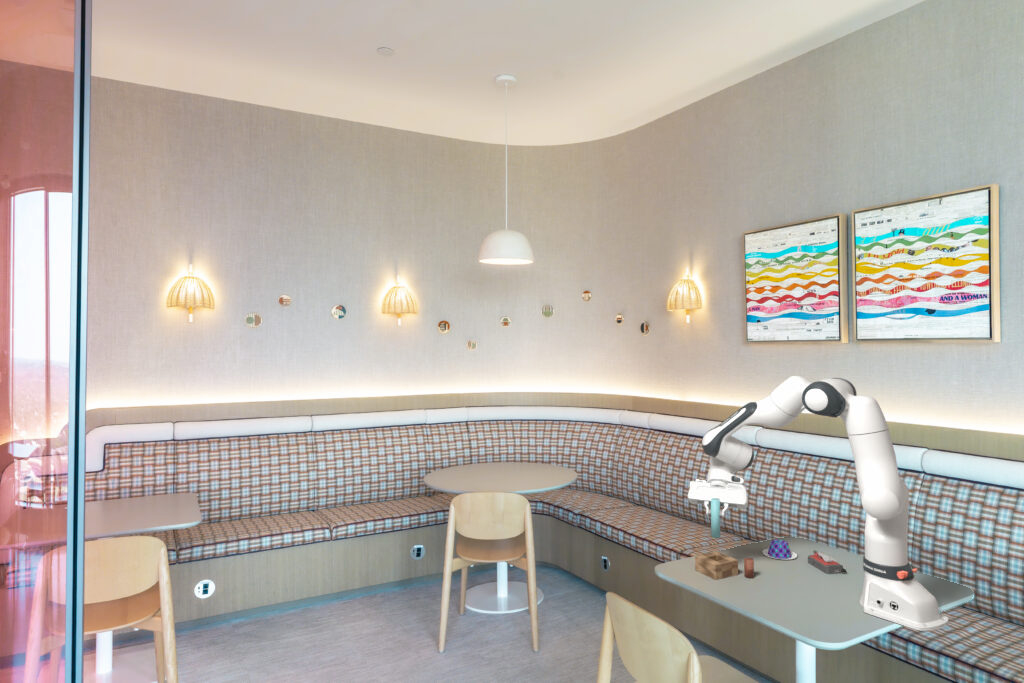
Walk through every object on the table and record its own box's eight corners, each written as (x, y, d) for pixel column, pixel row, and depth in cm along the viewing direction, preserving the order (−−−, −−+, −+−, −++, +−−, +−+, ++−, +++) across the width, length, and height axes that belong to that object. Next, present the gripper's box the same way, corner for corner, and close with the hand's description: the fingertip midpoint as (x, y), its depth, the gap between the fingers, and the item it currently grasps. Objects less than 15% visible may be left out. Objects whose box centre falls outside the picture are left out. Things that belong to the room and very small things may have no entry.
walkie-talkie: (852, 575, 209) (816, 554, 229) (852, 562, 209) (816, 542, 229) (828, 576, 208) (794, 556, 228) (828, 563, 208) (794, 544, 228)
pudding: (790, 564, 220) (790, 549, 220) (757, 556, 228) (756, 542, 228) (802, 555, 229) (801, 541, 229) (769, 547, 237) (769, 534, 237)
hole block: (738, 574, 210) (737, 560, 210) (715, 580, 206) (715, 565, 206) (716, 565, 219) (716, 551, 219) (695, 570, 215) (695, 555, 215)
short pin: (755, 577, 208) (755, 559, 208) (749, 579, 206) (749, 561, 206) (748, 574, 210) (748, 557, 210) (742, 575, 209) (742, 558, 209)
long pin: (722, 537, 212) (721, 499, 212) (715, 538, 211) (715, 501, 210) (715, 534, 215) (715, 497, 214) (709, 536, 213) (708, 499, 213)
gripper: (689, 473, 223) (683, 507, 215) (748, 479, 214) (744, 514, 205) (691, 483, 227) (686, 516, 219) (750, 489, 218) (746, 524, 209)
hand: (715, 515), depth 212 cm, fingers closed on long pin, 3 cm apart
